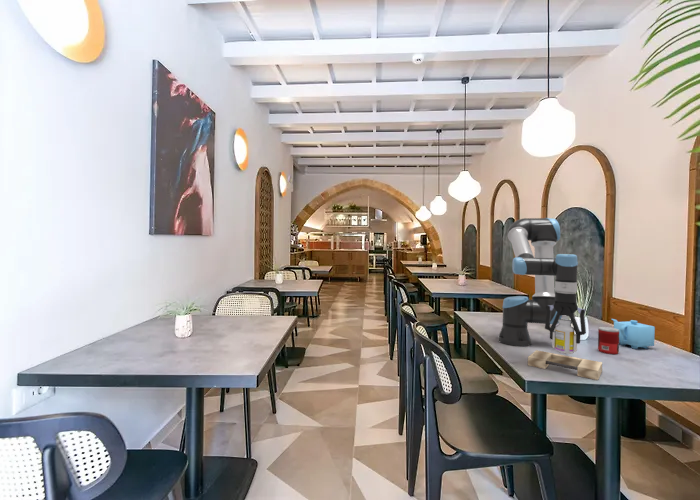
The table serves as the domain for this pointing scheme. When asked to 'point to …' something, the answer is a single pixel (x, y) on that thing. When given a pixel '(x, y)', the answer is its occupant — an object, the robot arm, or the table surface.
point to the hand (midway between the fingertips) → (564, 349)
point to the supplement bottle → (564, 337)
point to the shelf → (566, 363)
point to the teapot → (635, 334)
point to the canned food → (608, 340)
